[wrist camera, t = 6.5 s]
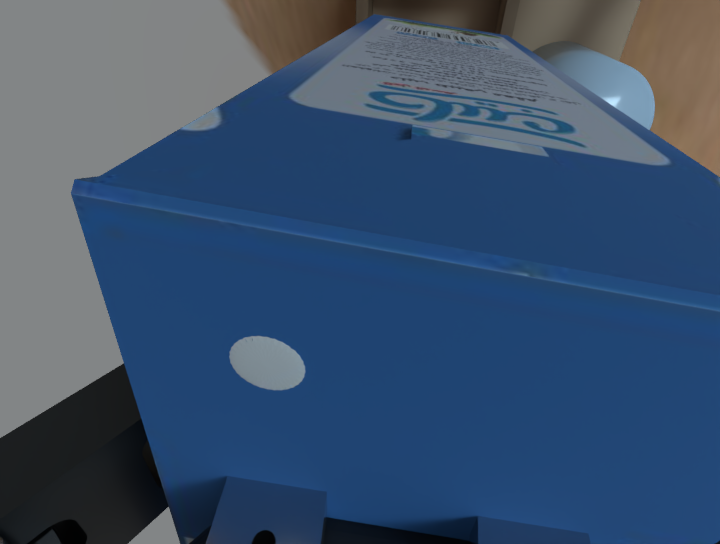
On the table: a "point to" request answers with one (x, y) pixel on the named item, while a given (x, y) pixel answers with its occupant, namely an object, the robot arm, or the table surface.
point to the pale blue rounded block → (603, 78)
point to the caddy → (522, 19)
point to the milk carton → (422, 295)
